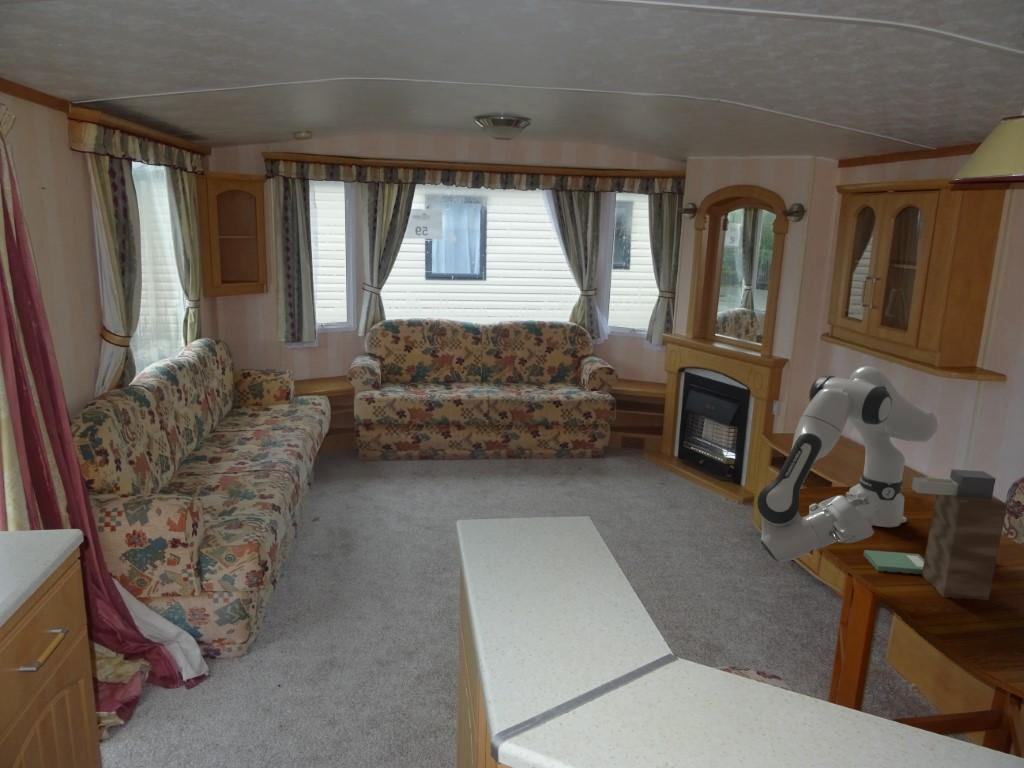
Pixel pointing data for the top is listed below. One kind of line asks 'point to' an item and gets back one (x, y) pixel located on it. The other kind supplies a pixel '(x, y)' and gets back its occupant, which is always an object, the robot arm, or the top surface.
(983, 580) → the block
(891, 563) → the board
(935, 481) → the plug
